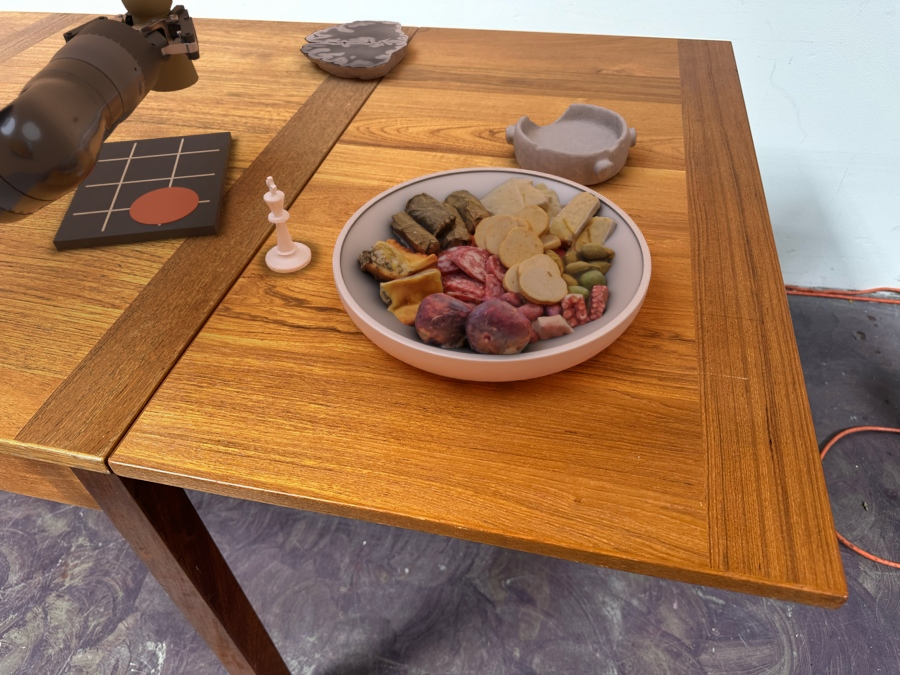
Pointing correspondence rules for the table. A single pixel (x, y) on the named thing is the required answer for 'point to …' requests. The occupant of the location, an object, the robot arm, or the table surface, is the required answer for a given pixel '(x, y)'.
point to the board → (149, 192)
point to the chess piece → (283, 236)
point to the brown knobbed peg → (179, 70)
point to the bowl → (491, 272)
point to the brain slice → (357, 48)
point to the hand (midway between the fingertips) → (162, 14)
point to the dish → (574, 144)
